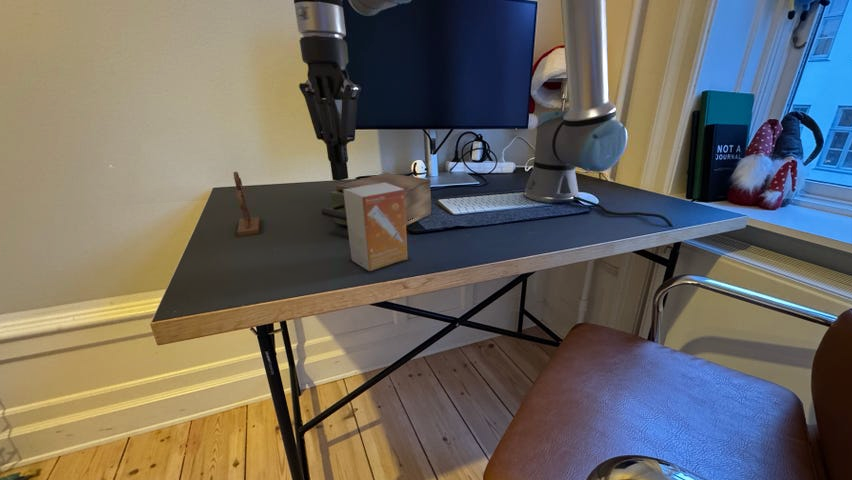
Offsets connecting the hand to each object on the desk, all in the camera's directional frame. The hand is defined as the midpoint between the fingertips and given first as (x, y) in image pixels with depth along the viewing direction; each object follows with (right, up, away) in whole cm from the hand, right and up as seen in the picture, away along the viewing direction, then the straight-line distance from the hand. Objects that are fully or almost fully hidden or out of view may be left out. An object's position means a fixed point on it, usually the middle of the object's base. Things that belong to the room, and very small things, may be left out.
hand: (340, 179), depth 72 cm
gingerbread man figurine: (-22, -9, +8) cm, 25 cm away
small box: (+9, -16, -6) cm, 19 cm away
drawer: (+3, -7, +11) cm, 13 cm away
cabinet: (+6, -6, +15) cm, 17 cm away
